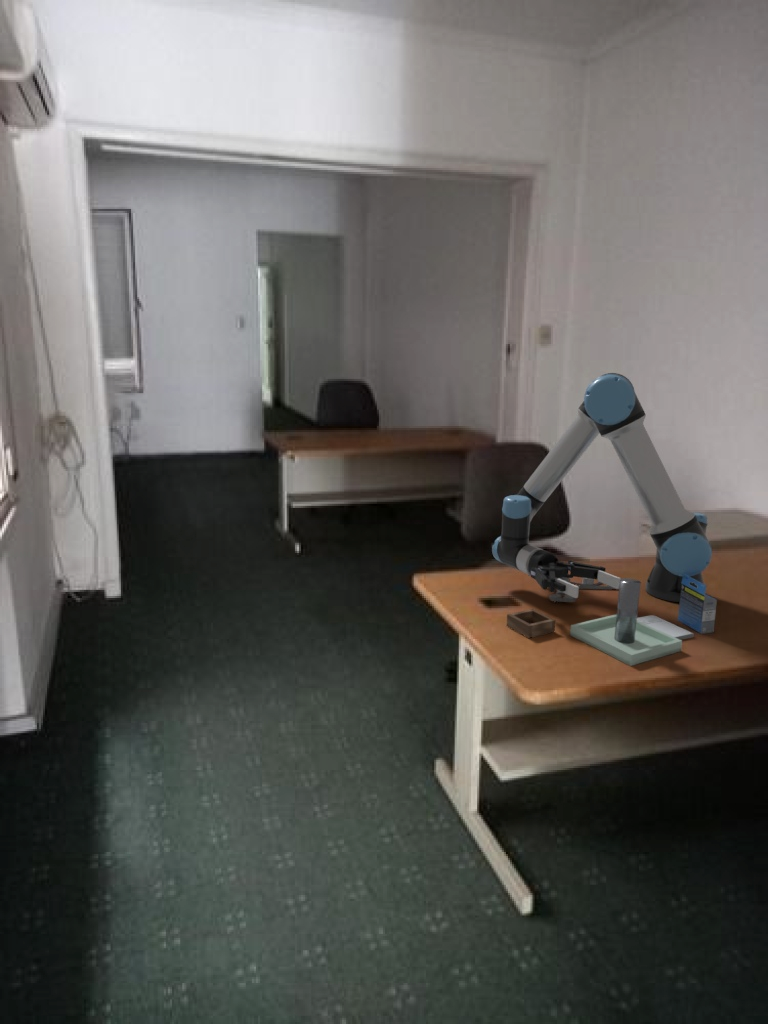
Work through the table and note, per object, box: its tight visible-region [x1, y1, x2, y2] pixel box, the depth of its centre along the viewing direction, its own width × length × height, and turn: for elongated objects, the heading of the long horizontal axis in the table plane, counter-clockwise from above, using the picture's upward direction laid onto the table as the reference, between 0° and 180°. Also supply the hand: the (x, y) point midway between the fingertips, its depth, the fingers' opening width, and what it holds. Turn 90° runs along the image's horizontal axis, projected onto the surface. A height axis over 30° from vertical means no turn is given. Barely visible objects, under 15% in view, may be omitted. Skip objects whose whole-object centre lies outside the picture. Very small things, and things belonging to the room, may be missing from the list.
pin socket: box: [506, 608, 556, 639], centre depth 166 cm, size 8×8×3 cm
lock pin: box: [614, 577, 642, 644], centre depth 158 cm, size 4×4×14 cm
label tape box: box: [677, 574, 718, 634], centre depth 168 cm, size 9×4×12 cm, turn 14°
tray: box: [569, 613, 683, 667], centre depth 159 cm, size 16×18×2 cm
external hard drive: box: [637, 614, 695, 641], centre depth 167 cm, size 2×8×12 cm
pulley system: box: [549, 572, 617, 603], centre depth 194 cm, size 27×5×15 cm
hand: (598, 588), depth 165 cm, fingers open, 13 cm apart
